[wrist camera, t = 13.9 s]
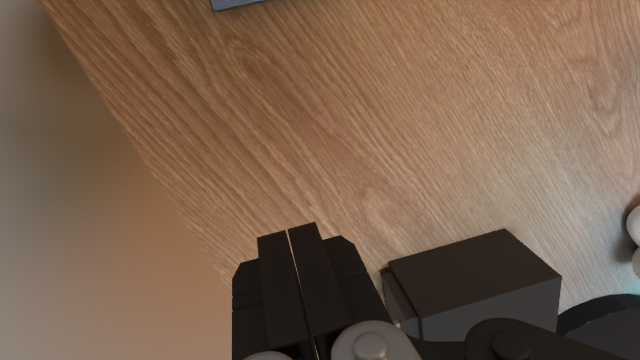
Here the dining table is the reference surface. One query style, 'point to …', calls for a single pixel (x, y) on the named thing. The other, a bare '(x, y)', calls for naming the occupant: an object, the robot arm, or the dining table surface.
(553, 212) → the dining table surface
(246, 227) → the dining table surface
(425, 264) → the dark brown box
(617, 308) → the disc
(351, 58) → the dining table surface
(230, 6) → the control block
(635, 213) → the white knot
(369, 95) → the dining table surface
